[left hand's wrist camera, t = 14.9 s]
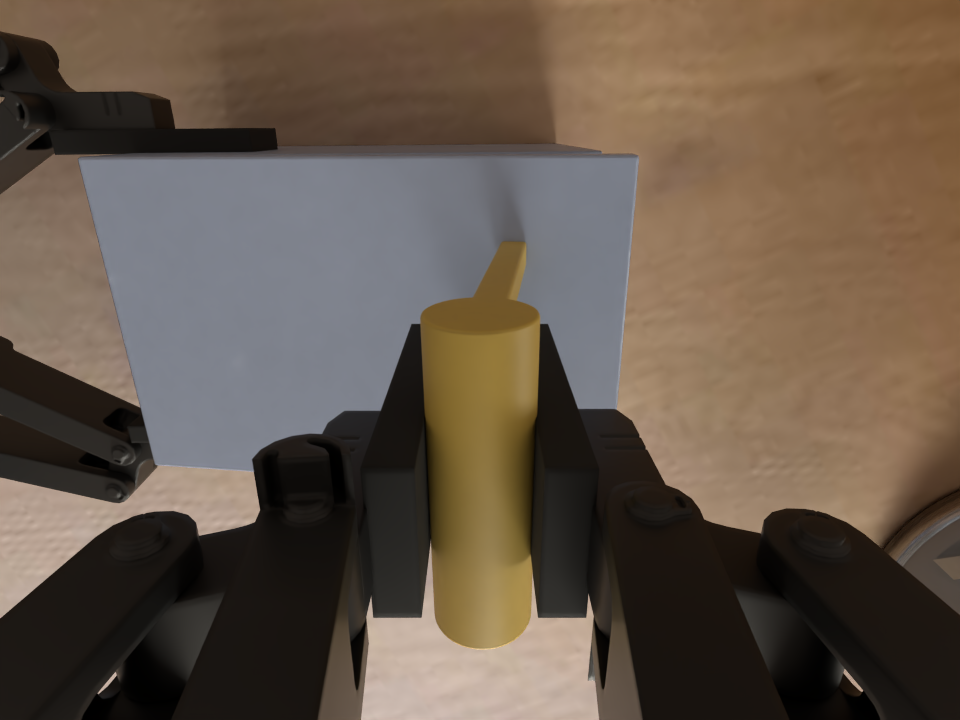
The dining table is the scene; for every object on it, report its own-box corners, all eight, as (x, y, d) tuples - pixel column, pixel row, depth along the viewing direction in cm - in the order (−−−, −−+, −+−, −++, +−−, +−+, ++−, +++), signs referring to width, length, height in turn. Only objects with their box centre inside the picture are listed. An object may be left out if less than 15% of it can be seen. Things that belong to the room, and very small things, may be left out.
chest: (557, 143, 27) (602, 150, 17) (549, 349, 30) (582, 447, 21) (229, 146, 27) (96, 155, 17) (262, 353, 30) (168, 452, 21)
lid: (635, 153, 15) (723, 182, 7) (607, 481, 19) (642, 748, 11) (97, 155, 17) (-327, 179, 9) (168, 453, 21) (-83, 662, 13)
